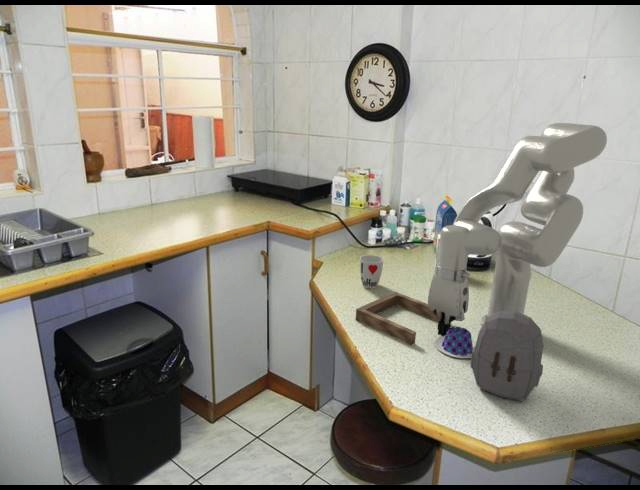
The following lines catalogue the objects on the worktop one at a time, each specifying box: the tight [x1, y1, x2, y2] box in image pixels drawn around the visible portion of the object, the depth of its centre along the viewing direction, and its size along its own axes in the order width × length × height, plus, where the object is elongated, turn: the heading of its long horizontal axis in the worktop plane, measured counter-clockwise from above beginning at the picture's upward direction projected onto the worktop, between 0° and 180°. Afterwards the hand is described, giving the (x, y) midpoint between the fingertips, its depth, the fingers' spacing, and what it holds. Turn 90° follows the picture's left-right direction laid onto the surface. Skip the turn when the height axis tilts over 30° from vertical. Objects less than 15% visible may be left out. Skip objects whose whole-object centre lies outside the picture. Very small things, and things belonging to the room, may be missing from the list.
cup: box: [359, 254, 384, 289], centre depth 162 cm, size 8×8×10 cm
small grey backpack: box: [470, 311, 545, 401], centre depth 103 cm, size 15×8×20 cm, turn 59°
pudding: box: [434, 326, 477, 359], centre depth 124 cm, size 12×12×5 cm
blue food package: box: [432, 193, 458, 255], centre depth 196 cm, size 6×12×25 cm, turn 178°
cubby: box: [355, 291, 438, 346], centre depth 138 cm, size 20×19×4 cm
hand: (443, 333), depth 129 cm, fingers closed
